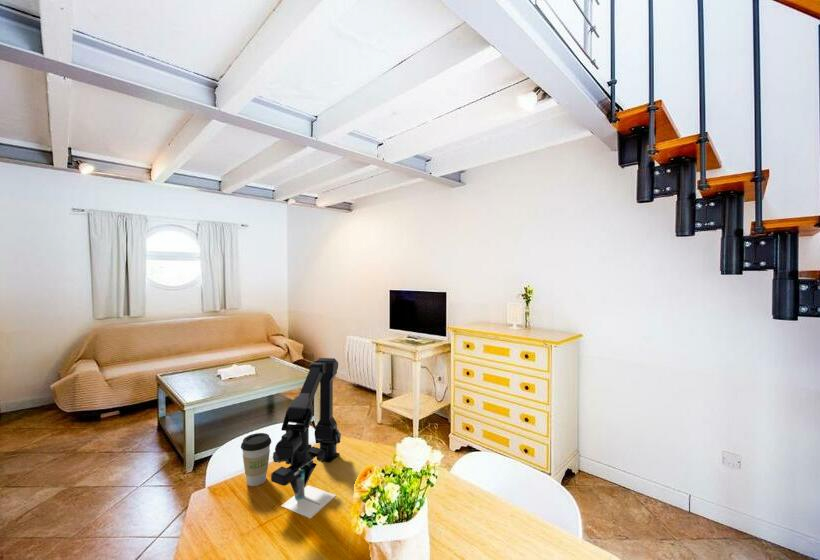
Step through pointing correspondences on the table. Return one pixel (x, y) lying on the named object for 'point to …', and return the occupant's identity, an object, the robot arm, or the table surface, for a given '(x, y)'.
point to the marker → (301, 486)
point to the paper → (309, 502)
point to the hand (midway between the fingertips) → (299, 490)
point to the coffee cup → (256, 457)
